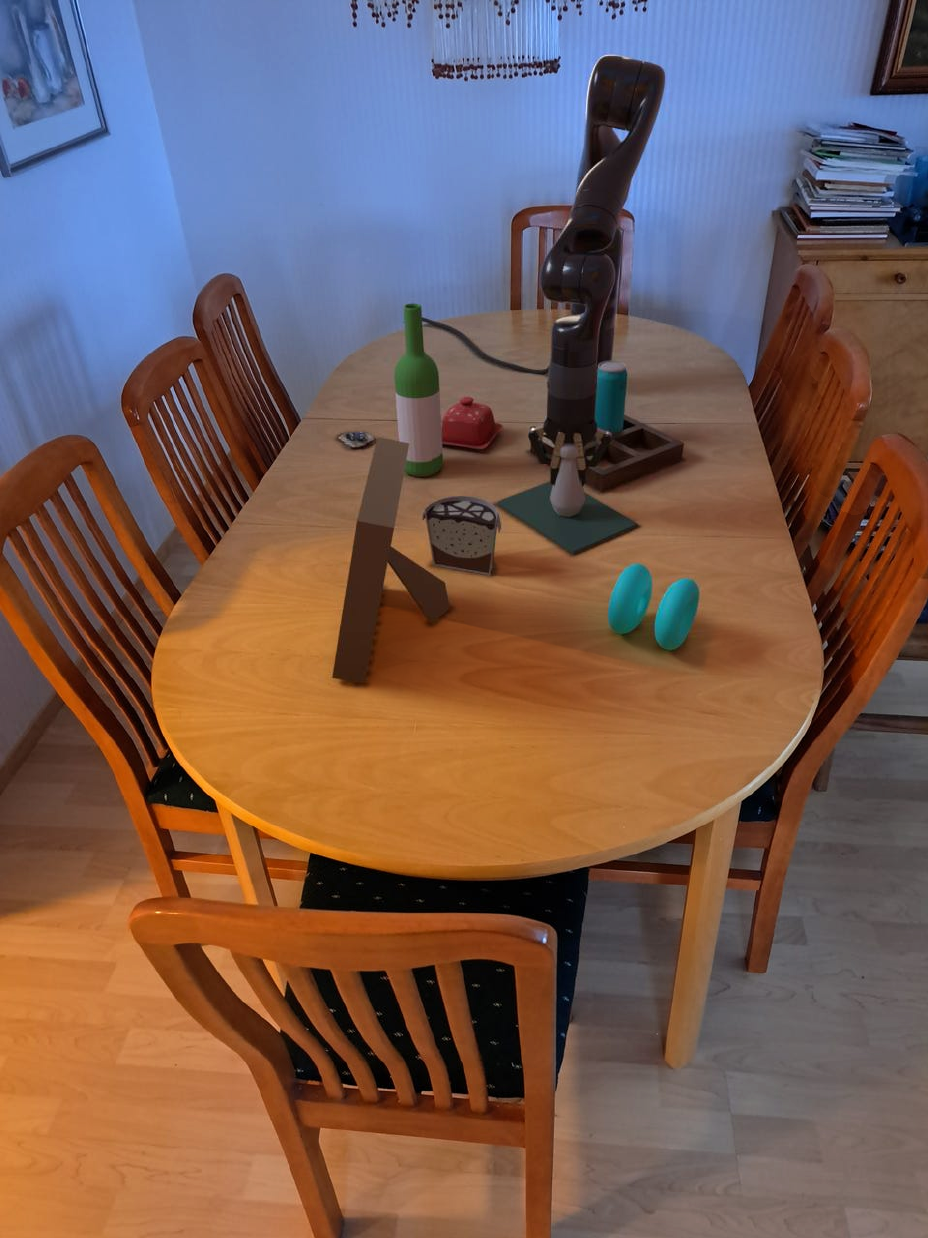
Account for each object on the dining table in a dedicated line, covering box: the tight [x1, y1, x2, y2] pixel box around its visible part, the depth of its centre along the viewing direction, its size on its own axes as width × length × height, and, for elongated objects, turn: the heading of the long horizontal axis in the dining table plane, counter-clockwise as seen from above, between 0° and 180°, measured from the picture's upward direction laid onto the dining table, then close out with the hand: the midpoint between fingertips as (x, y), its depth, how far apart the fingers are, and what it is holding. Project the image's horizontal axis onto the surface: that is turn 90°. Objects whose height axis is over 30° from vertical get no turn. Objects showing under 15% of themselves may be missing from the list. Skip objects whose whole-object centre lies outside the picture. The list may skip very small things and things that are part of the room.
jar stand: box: [530, 413, 685, 493], centre depth 168 cm, size 20×20×4 cm
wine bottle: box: [393, 302, 444, 478], centre depth 157 cm, size 8×8×30 cm
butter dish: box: [441, 396, 503, 450], centre depth 173 cm, size 12×12×8 cm
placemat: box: [496, 481, 639, 555], centre depth 152 cm, size 20×14×1 cm
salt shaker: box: [550, 443, 585, 517], centre depth 147 cm, size 6×6×13 cm
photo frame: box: [331, 436, 451, 684], centre depth 120 cm, size 15×22×25 cm
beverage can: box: [595, 360, 628, 434], centre depth 169 cm, size 6×6×15 cm
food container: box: [421, 495, 502, 576], centre depth 139 cm, size 12×6×10 cm, turn 71°
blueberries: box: [338, 430, 376, 448], centre depth 176 cm, size 7×8×2 cm
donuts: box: [607, 563, 700, 651], centre depth 122 cm, size 10×10×10 cm
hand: (567, 486), depth 149 cm, fingers closed on salt shaker, 3 cm apart
